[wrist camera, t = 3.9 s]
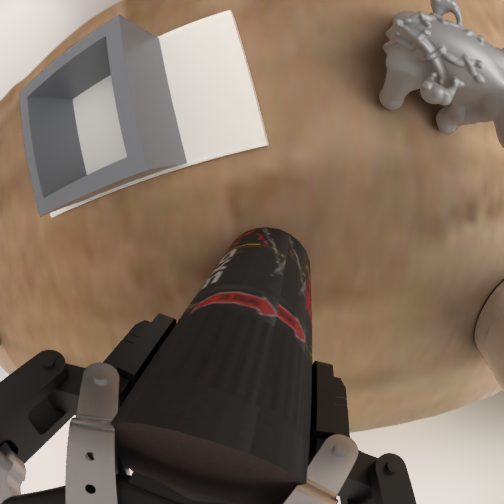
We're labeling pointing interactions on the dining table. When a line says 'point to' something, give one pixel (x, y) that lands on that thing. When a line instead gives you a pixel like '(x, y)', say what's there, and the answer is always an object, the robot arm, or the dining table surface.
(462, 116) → the gray elephant figurine
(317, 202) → the dining table surface
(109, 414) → the robot arm
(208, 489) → the deodorant
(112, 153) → the socket stand
